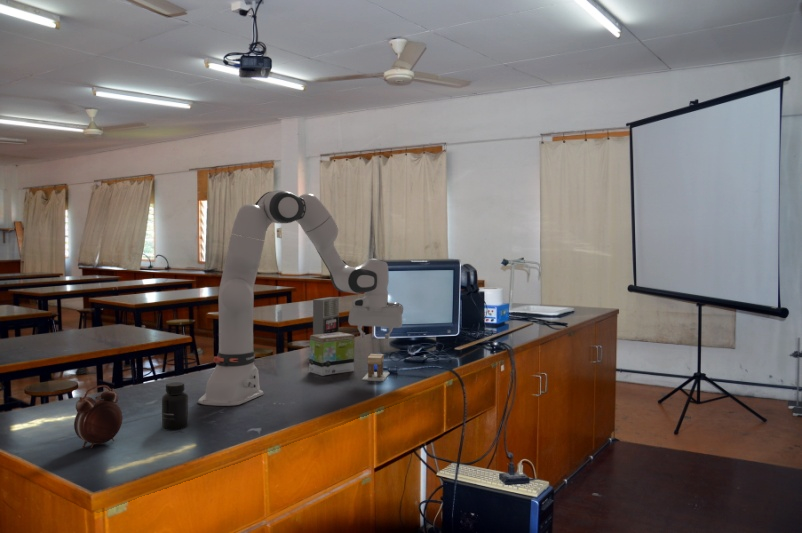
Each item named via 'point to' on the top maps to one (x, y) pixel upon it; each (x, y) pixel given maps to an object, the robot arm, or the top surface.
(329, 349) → the tea box
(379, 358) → the tan pronged block
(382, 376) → the mat
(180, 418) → the supplement bottle
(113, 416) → the alarm clock
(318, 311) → the grey game cartridge
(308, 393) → the top surface
